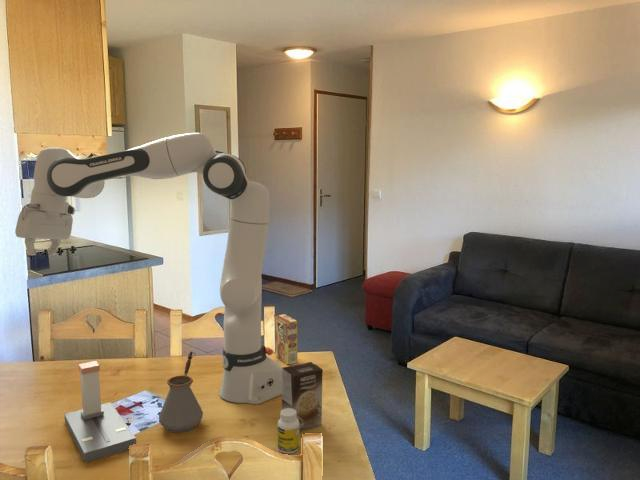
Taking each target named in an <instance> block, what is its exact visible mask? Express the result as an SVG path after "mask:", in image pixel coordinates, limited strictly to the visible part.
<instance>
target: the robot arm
mask: <svg viewBox="0 0 640 480" xmlns="http://www.w3.org/2000/svg"><path fill="white" fill-rule="evenodd" d="M33 171H34V172H33V183H34V184H33V188H32V190H31V193H30V194H31V195H30V202H29V203H26V204H25V205H23V207H22V208H21V211H20V212H19V214H18V217H17V221H16V227H15V231H14V233H15V235H16V236H15V237H17V238H21V239H24V244H25V248H26V255H27V256H36V255H37V253H36V252H37V248H35V243H36V240H37V239H39V240H42V239H43V240H50V242H51V245H49V247H48V248H47V255H52V256H55V255H57V251H58V248H59V246H60V244H61V240H68V239H70V237H71V234H72V229H73V224H74V223H73V221H74V220H73V219H74V218H73V216H75V211H76V209H75V207H74V206H72V204H70V202H68V201H67V198H68V197H73V198H80V199H92V198H96V197H98V196H99V195H100V194H101V193H102V191H103V190H104V188H105V181H107V180H112V179H116V178H120V177H140V178H145V179H151V180H166V179H167V180H168V179H171V178H172V179H173V178H176V177H180V176H183V175H187V174H194V173H198V174H201V175H202V179H203V183H204V184H205V186H206V187H207V188H208V189H209V190H210V191H212V193H215V194H217V195H219V196H222V197H224V198H226V199H228V200H230V203H231V204H230V205H231V206H230V208H231V209H230V216H229V225H228V234H227V243H226V248H225V249H226V250H225V255H224V259H223V267H222V273H221V281H220V285H219V286H220V287H219V294H220V295H219V296H220V300H221V302H222V304H223V305H224V313H223V315H224V316H223V348H222V367H223V375H222V380H221V381H222V382H221V384H220V385H221V387H220V390H219V396H220V398H222V399H223V400H225V401H228V402H231V403H238V404H239V403H240V404H241V403H242V404H244V403H245V404H252V405H259V404H261V403H264V402H266V401H269V400H271V399H273V398H275V397H278V396H280V395H282V368H283V366H282V365H281V364H280V363H278V362H277V361H275V360H274V359H272V358H271V357H269V356H273V354H274V350H273V348H271V347H268V346H265V345H263V344H262V295H263V293H262V291H263V287H262V286H263V284H262V283H263V281H262V279H263V278H262V275H263V274H262V272H263V266H264V260H265V259H264V258H265V254H266V246H267V237H268V230H269V222H270V209H271V208H270V207H271V206H270V192H269V190H268V188H267V187H266V186H265V185H264V184H262V183H260V182H258V181H252V180H249V179H248V177H247V170H246V167H245V164H244V162H243V161H242V160H241V158H239V157H237V156H236V155H233V154H231V153H227V152H224V151H223V152H222V151H219V150H215V149H214V146H213V144H212V142H211V140H210V138H209V137H207V135H206V134H204V133H201V132H191V133H190V132H188V133H181V134H175V135H171V136H167V137H163V138H160V139H157V140H153V141H151V142H147V143H145V144H142V145H140V146H136V147H132V148H129V149H127V150H121V151H117V152H112V153H109V154H104V155H99V156H94V157H90V158H83V159H82V158H81V159H80V158H78V157H76V155H74V154H73V153H72V152H71V151H70V150H69V149H67V148H64V147H54V146H53V147H46V148H42V149H41V150H40V151H39V153H38V154H37V157H36V161H35V166H34V170H33Z"/></svg>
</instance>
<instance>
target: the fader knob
mask: <svg viewBox="0 0 640 480" xmlns="http://www.w3.org/2000/svg"><path fill="white" fill-rule="evenodd" d="M78 371H79V378H80V388H81V389H80V391H81V404H82V409H83V410H82V409H79V410H80V411H81V415H82V417H83V419H84V420H86V419H90V418H93V417H97V416H101V415H104V411H103V409H102V408H101V404H102V401H101V400H102V399H101V386H100V384H101V383H100V364H99V362H98V361H97V360H94V361H87V362H84V363H79V364H78Z"/></svg>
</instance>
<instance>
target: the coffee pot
mask: <svg viewBox="0 0 640 480" xmlns="http://www.w3.org/2000/svg"><path fill="white" fill-rule="evenodd" d="M193 354H195V355H193ZM196 355H197V354H196V353H195V352H193V351H192V350H191V351H190V352H188V353H187V361H186V362H185V368H184V373H183V375H182V374H181V375H175V376H172V377H170V378H168V379H167V382H166V383H167V385H168V386H169V391H168V393H167V395H166V397H165V400H164V402H163V405H162V408H161V409H160V410H161V411H160V413H159V415H158V421H159V423H160V425H161V426H162V427H164V428H165V429H167V430H168V431H169V432H171V433H178V434H179V433H186V432H188V431H192V430H194V428H195V427H196V426H197V425H198V424H199V423H200V422H201V420H202V419H203V416H204V412H203V410H202V408H201V406H200V404H199V401H198V400H197V398H196V396H195V394H194V392H193V390H192V388H191V386H192V384H193V382H194V380H193V378H192V377H191V376H188V373H189V369H190V367H191V362H192V361H191V360H192V359H193V358H194V357H196Z"/></svg>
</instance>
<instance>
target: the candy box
mask: <svg viewBox="0 0 640 480" xmlns="http://www.w3.org/2000/svg"><path fill="white" fill-rule="evenodd" d="M274 317H275V318H274V321H275V322H274V323H275V326H274V327H275V332H274V333H275V357H276V356H277V357H278V358H279V359H278V358H277V357H276V358H277V359H278V360H280V359H281V360H282V361H281V360H280V361H281V362H283V363H284V362H285V363H284V364H286V365H287V364H290V365H294V364H297V363H298V321H297V320H296V319H294V318H293V317H291V316H289V315H287V314H285V313H284V314H278V315H275V316H274ZM293 363H294V364H293Z"/></svg>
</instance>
